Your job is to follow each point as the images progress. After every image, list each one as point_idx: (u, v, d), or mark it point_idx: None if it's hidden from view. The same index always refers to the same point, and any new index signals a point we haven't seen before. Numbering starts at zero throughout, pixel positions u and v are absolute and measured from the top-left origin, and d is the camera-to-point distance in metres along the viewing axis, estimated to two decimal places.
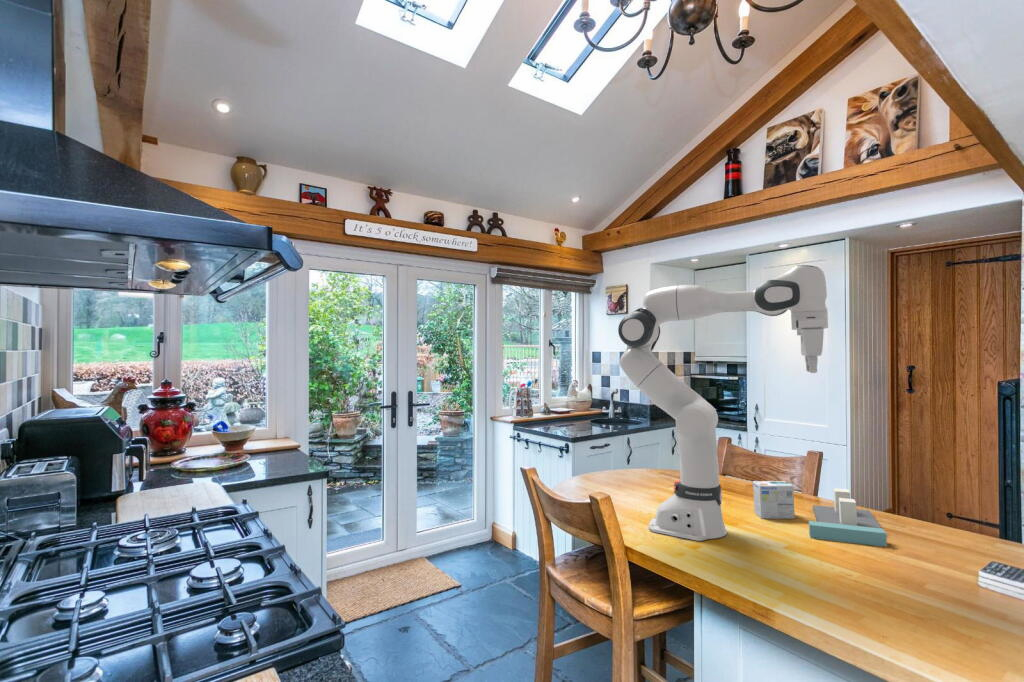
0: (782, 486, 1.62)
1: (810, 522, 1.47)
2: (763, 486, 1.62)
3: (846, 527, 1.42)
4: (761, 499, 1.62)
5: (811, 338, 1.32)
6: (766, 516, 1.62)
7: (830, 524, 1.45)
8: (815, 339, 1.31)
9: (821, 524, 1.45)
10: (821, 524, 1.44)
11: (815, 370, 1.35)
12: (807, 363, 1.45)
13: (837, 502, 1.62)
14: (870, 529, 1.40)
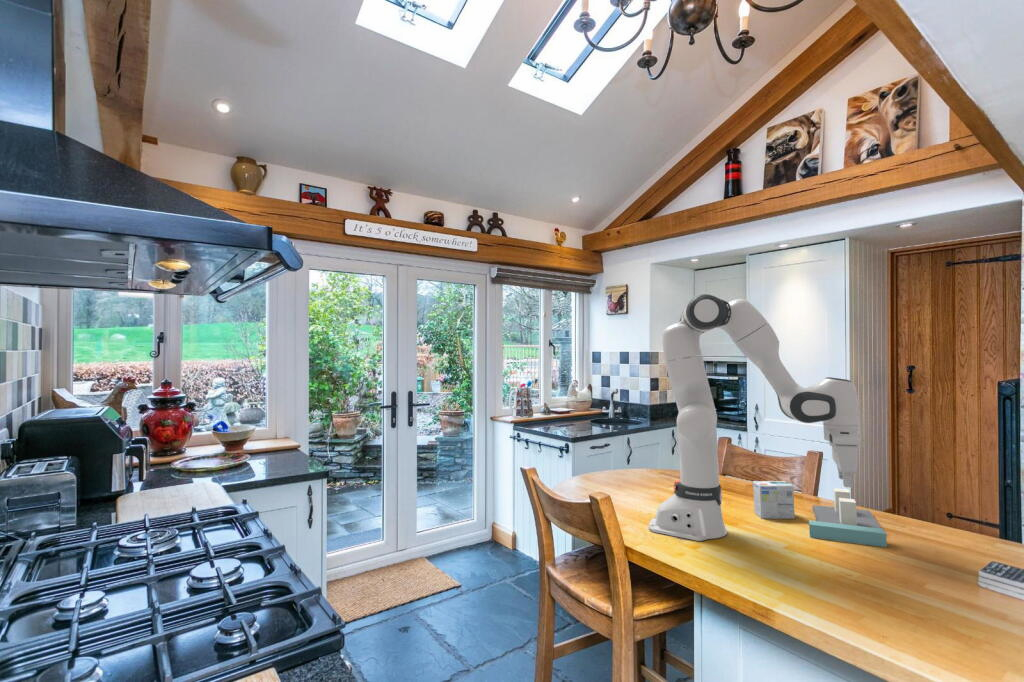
0: (782, 486, 1.62)
1: (810, 522, 1.47)
2: (763, 486, 1.62)
3: (846, 527, 1.42)
4: (761, 499, 1.62)
5: (846, 456, 1.35)
6: (766, 516, 1.62)
7: (830, 524, 1.45)
8: (850, 457, 1.34)
9: (821, 523, 1.45)
10: (821, 524, 1.45)
11: (849, 485, 1.38)
12: (839, 470, 1.48)
13: (837, 502, 1.62)
14: (870, 529, 1.40)
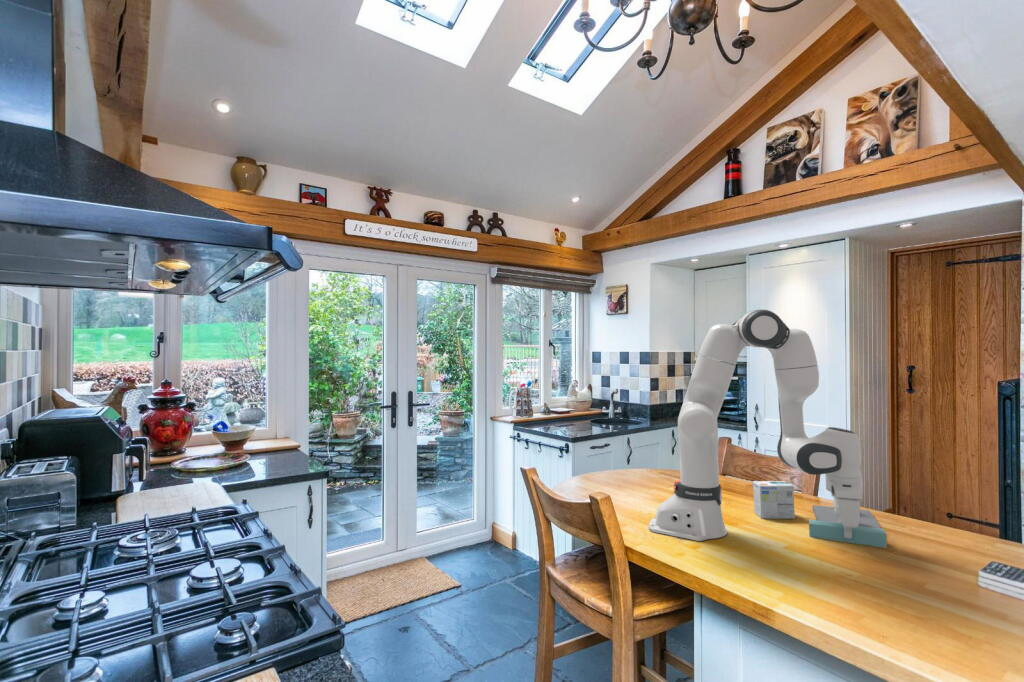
0: (782, 486, 1.62)
1: (810, 521, 1.47)
2: (763, 486, 1.62)
3: None
4: (761, 499, 1.62)
5: (848, 510, 1.34)
6: (766, 516, 1.62)
7: (830, 523, 1.45)
8: (852, 512, 1.34)
9: (821, 523, 1.45)
10: (821, 523, 1.45)
11: (850, 535, 1.39)
12: (841, 522, 1.45)
13: None
14: (871, 529, 1.39)
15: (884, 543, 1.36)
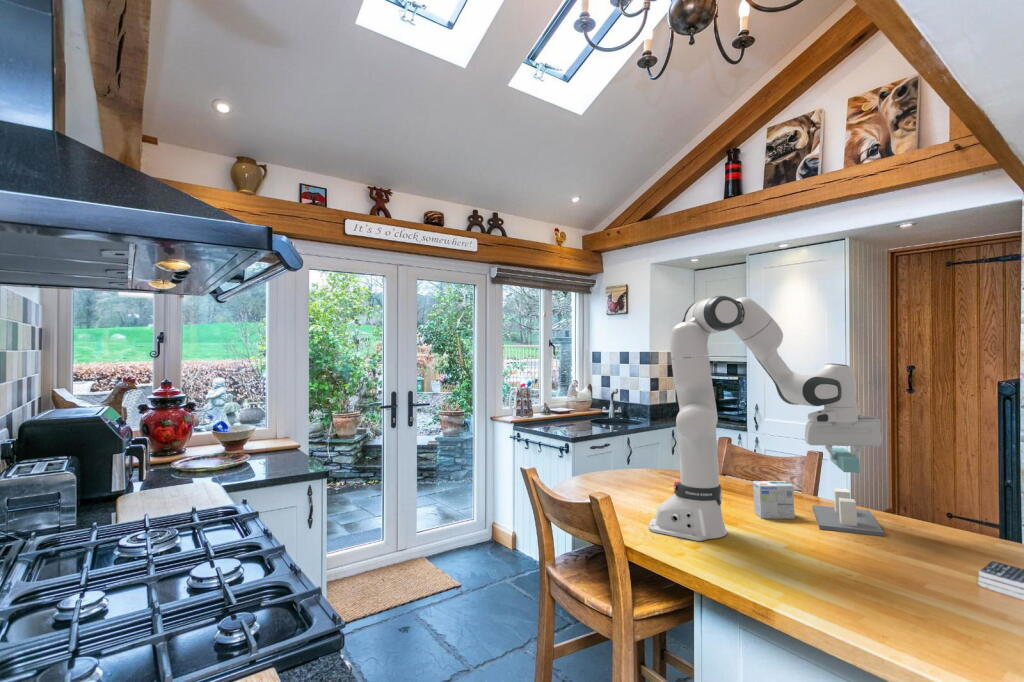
0: (782, 486, 1.62)
1: (838, 448, 1.63)
2: (763, 486, 1.62)
3: (841, 453, 1.56)
4: (761, 499, 1.62)
5: (806, 429, 1.59)
6: (766, 516, 1.62)
7: (843, 451, 1.59)
8: (807, 431, 1.58)
9: (838, 449, 1.61)
10: (836, 449, 1.61)
11: (831, 457, 1.56)
12: (854, 452, 1.55)
13: (837, 502, 1.62)
14: (849, 456, 1.50)
15: (843, 467, 1.48)
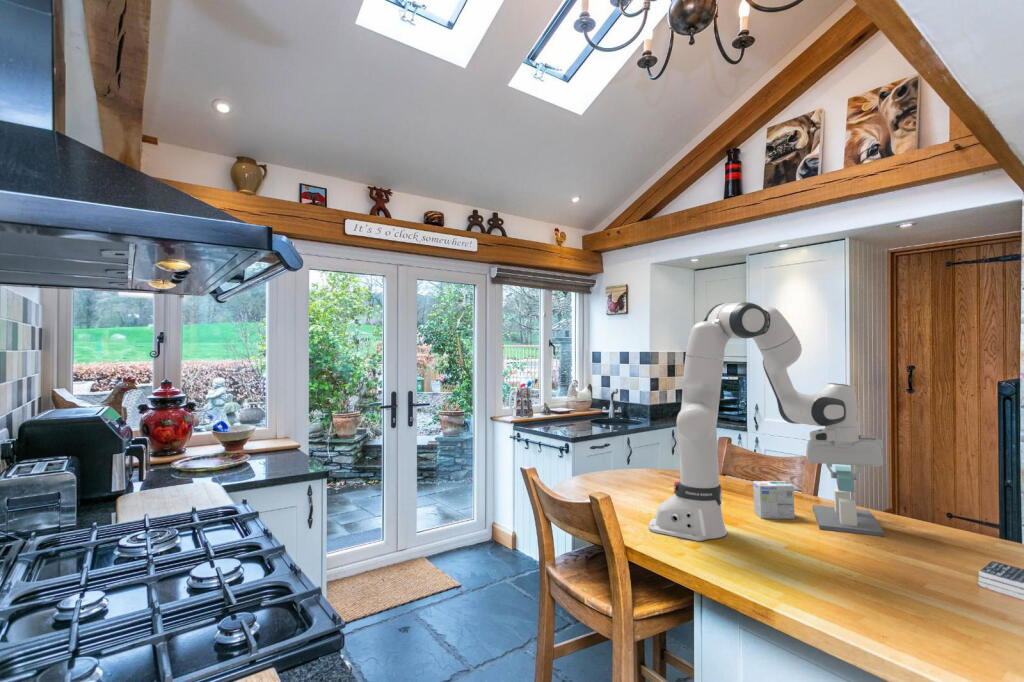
0: (782, 486, 1.62)
1: (844, 466, 1.65)
2: (763, 486, 1.62)
3: (841, 471, 1.58)
4: (761, 499, 1.62)
5: (807, 447, 1.63)
6: (766, 516, 1.62)
7: (845, 469, 1.61)
8: (807, 448, 1.62)
9: (842, 468, 1.63)
10: (840, 467, 1.63)
11: (831, 475, 1.59)
12: (855, 471, 1.57)
13: (837, 502, 1.62)
14: (846, 475, 1.53)
15: (838, 486, 1.51)
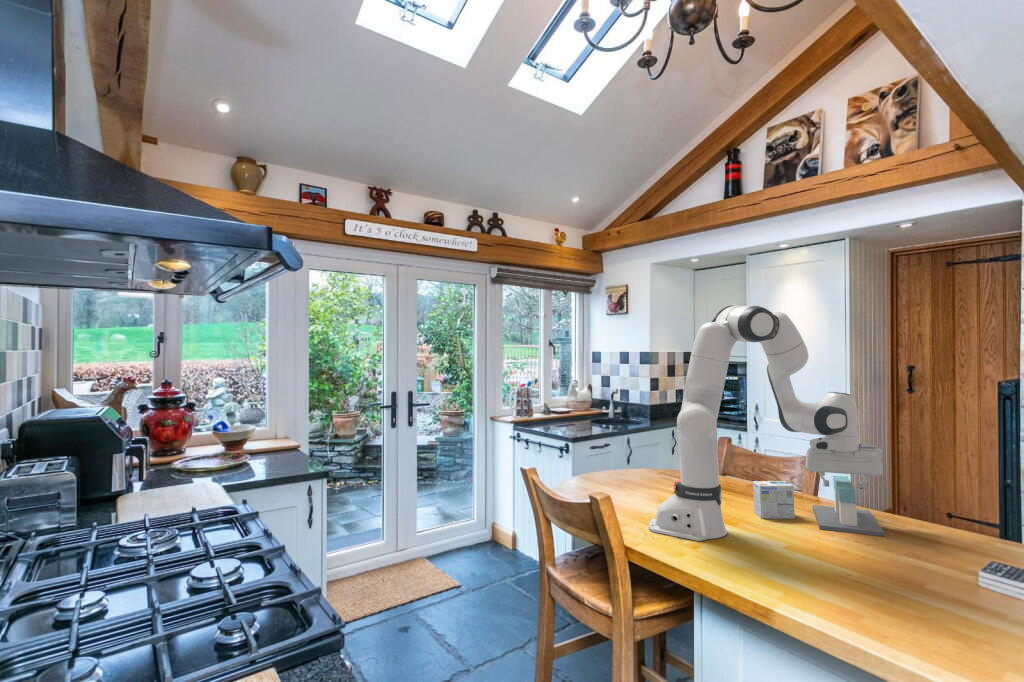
0: (782, 486, 1.62)
1: (842, 476, 1.65)
2: (763, 486, 1.62)
3: (841, 482, 1.58)
4: (761, 499, 1.62)
5: (807, 455, 1.62)
6: (766, 516, 1.62)
7: (844, 479, 1.61)
8: (807, 457, 1.62)
9: (840, 478, 1.63)
10: (839, 477, 1.63)
11: (823, 484, 1.60)
12: (862, 480, 1.56)
13: (837, 502, 1.62)
14: (846, 486, 1.52)
15: None
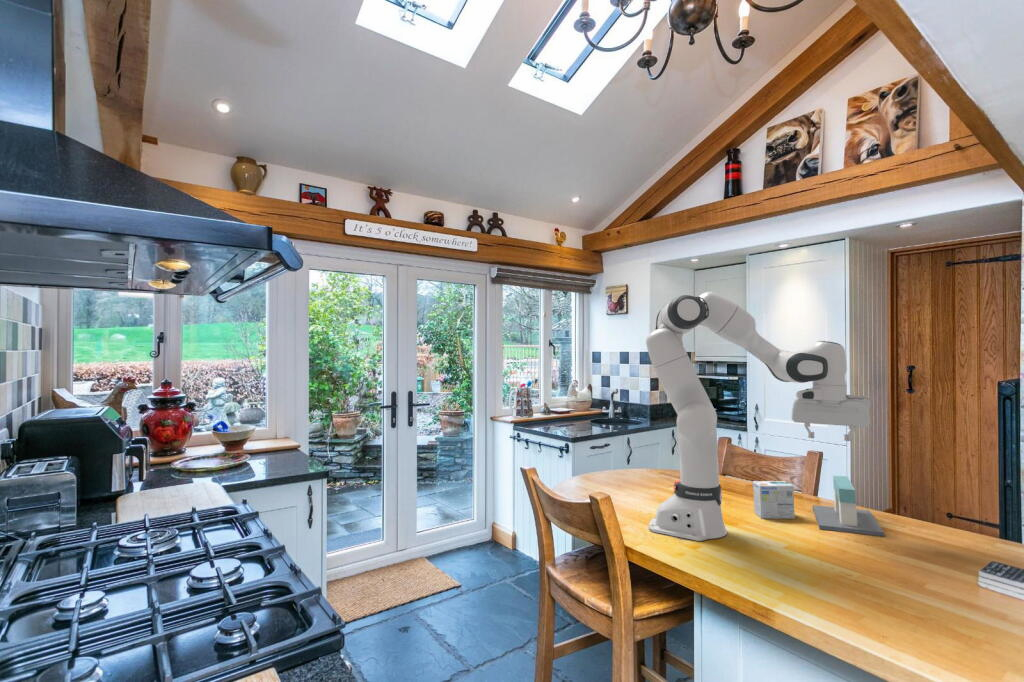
0: (782, 486, 1.62)
1: (842, 476, 1.65)
2: (763, 486, 1.62)
3: (841, 482, 1.58)
4: (761, 499, 1.62)
5: None
6: (766, 516, 1.62)
7: (844, 479, 1.61)
8: (793, 408, 1.57)
9: (840, 478, 1.63)
10: (839, 477, 1.63)
11: (808, 435, 1.55)
12: None
13: (837, 502, 1.62)
14: (846, 486, 1.52)
15: None
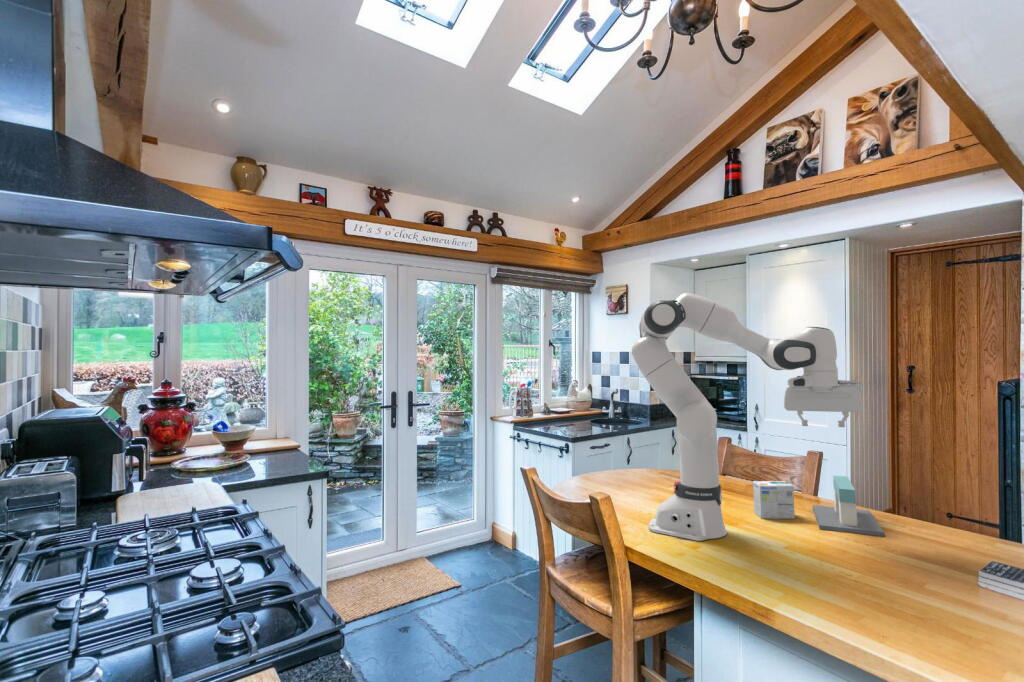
0: (782, 486, 1.62)
1: (842, 476, 1.65)
2: (763, 486, 1.62)
3: (841, 482, 1.58)
4: (761, 499, 1.62)
5: None
6: (766, 516, 1.62)
7: (844, 479, 1.61)
8: None
9: (840, 478, 1.63)
10: (839, 477, 1.63)
11: (802, 423, 1.52)
12: (842, 418, 1.49)
13: (837, 502, 1.62)
14: (846, 486, 1.52)
15: None
